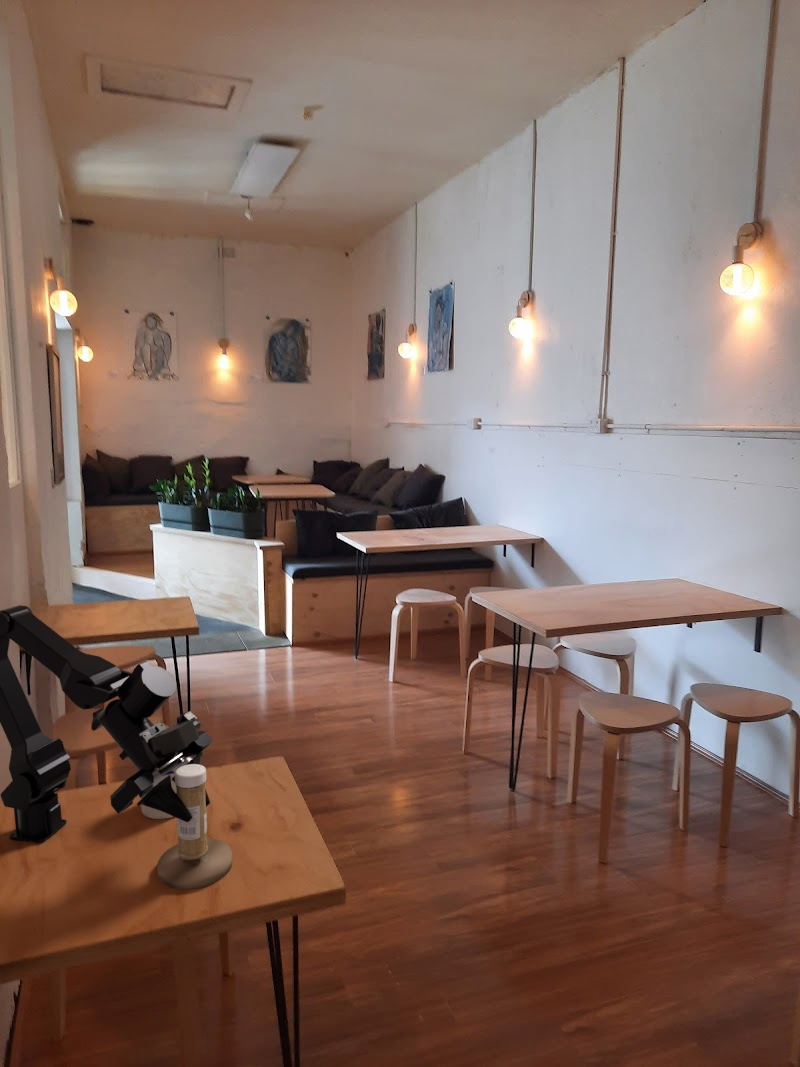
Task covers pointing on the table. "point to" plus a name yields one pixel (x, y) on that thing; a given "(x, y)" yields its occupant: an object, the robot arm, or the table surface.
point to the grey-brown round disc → (195, 866)
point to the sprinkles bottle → (192, 811)
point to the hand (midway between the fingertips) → (199, 812)
